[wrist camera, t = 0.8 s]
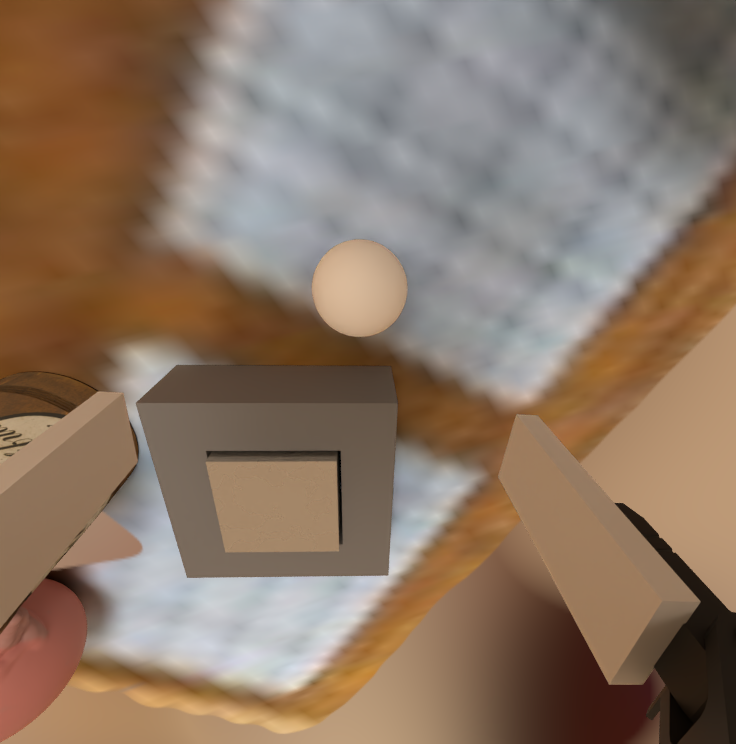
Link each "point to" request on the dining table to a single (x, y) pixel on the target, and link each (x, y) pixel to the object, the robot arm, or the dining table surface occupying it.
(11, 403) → the wooden container
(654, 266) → the dining table surface
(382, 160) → the dining table surface
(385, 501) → the socket block
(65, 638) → the balloon
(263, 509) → the tan square tile
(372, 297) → the lightbulb
